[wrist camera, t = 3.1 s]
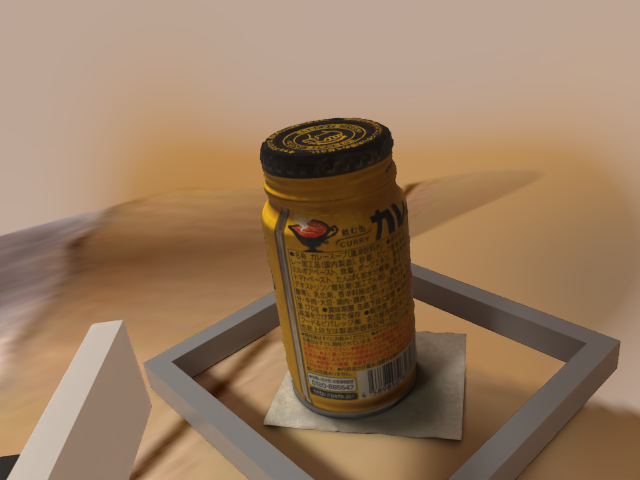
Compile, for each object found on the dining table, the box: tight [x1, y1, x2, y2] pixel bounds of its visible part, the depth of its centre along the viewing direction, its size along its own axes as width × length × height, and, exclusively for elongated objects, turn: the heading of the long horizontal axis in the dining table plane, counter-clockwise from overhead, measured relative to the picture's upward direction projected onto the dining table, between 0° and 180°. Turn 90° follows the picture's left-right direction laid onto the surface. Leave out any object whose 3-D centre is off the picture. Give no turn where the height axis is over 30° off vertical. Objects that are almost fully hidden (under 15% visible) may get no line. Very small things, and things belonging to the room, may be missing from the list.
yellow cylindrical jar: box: [260, 118, 466, 440], centre depth 25 cm, size 7×8×12 cm
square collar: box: [143, 263, 620, 480], centre depth 28 cm, size 16×15×2 cm
